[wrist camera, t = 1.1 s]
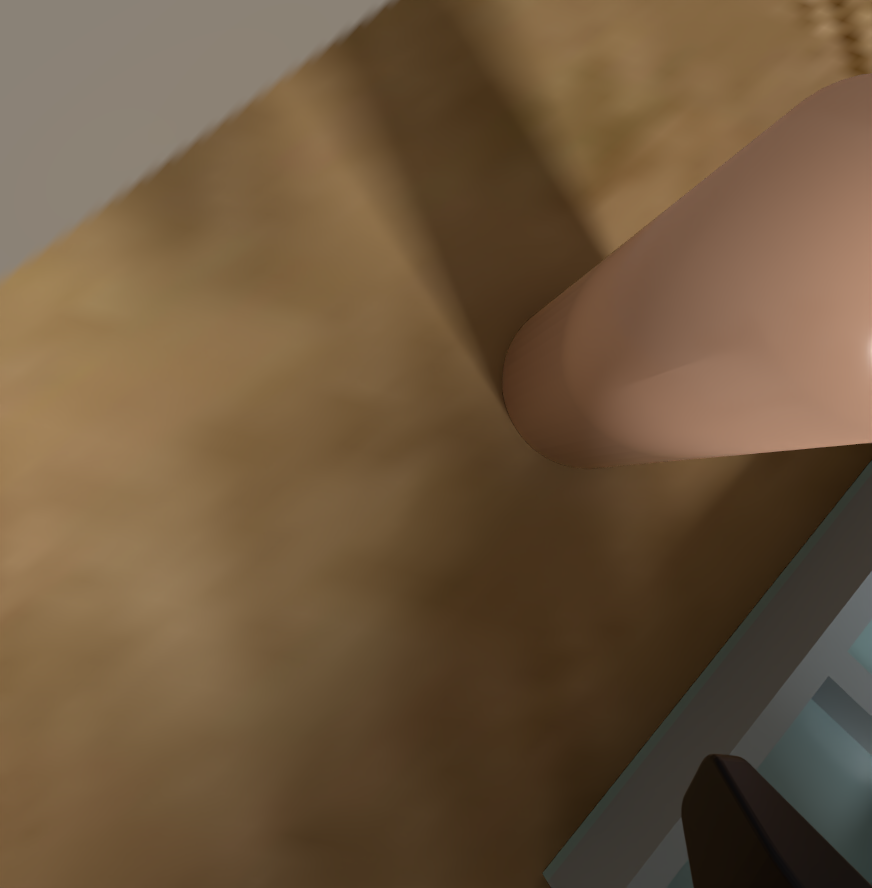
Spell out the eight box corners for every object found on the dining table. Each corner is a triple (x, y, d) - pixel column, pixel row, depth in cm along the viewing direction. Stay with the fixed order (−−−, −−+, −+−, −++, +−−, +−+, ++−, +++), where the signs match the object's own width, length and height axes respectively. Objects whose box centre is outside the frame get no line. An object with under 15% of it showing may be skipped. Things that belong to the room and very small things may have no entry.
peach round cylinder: (695, 416, 24) (1131, 329, 11) (555, 499, 23) (855, 506, 11) (614, 269, 24) (961, 15, 11) (471, 348, 23) (670, 168, 10)
